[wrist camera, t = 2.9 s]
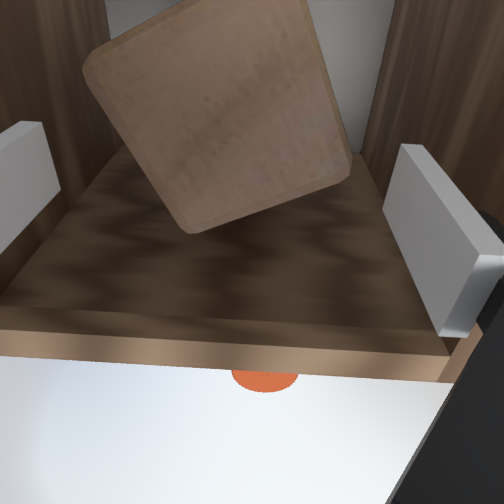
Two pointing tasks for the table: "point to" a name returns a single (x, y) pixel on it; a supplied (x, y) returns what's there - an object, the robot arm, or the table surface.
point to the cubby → (248, 227)
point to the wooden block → (224, 107)
